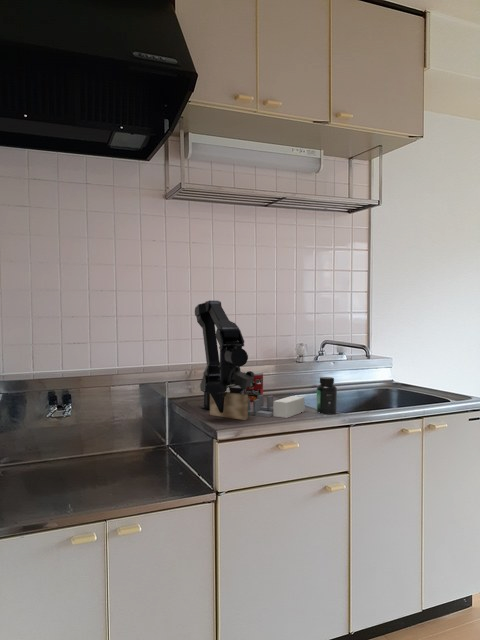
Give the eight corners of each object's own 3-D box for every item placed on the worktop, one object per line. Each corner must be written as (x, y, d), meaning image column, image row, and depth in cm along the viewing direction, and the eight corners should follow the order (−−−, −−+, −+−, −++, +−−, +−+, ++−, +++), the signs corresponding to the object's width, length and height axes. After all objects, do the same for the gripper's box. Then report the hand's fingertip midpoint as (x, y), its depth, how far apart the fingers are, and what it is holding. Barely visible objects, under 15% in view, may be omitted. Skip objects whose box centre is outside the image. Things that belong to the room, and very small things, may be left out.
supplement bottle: (316, 414, 170) (317, 378, 170) (316, 410, 176) (316, 376, 176) (337, 414, 169) (337, 379, 169) (336, 410, 176) (336, 376, 175)
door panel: (209, 415, 168) (209, 391, 168) (213, 414, 170) (213, 390, 170) (244, 420, 161) (244, 395, 160) (247, 419, 162) (247, 394, 162)
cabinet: (243, 413, 170) (243, 399, 170) (266, 406, 183) (266, 393, 183) (282, 419, 161) (282, 403, 161) (304, 411, 174) (304, 397, 174)
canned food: (241, 401, 194) (241, 373, 193) (246, 398, 201) (246, 371, 201) (260, 402, 192) (260, 373, 192) (264, 399, 200) (264, 371, 199)
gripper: (232, 367, 153) (232, 418, 153) (263, 362, 168) (263, 408, 169) (203, 365, 159) (203, 414, 159) (236, 360, 175) (236, 405, 175)
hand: (228, 410), depth 165 cm, fingers open, 8 cm apart
